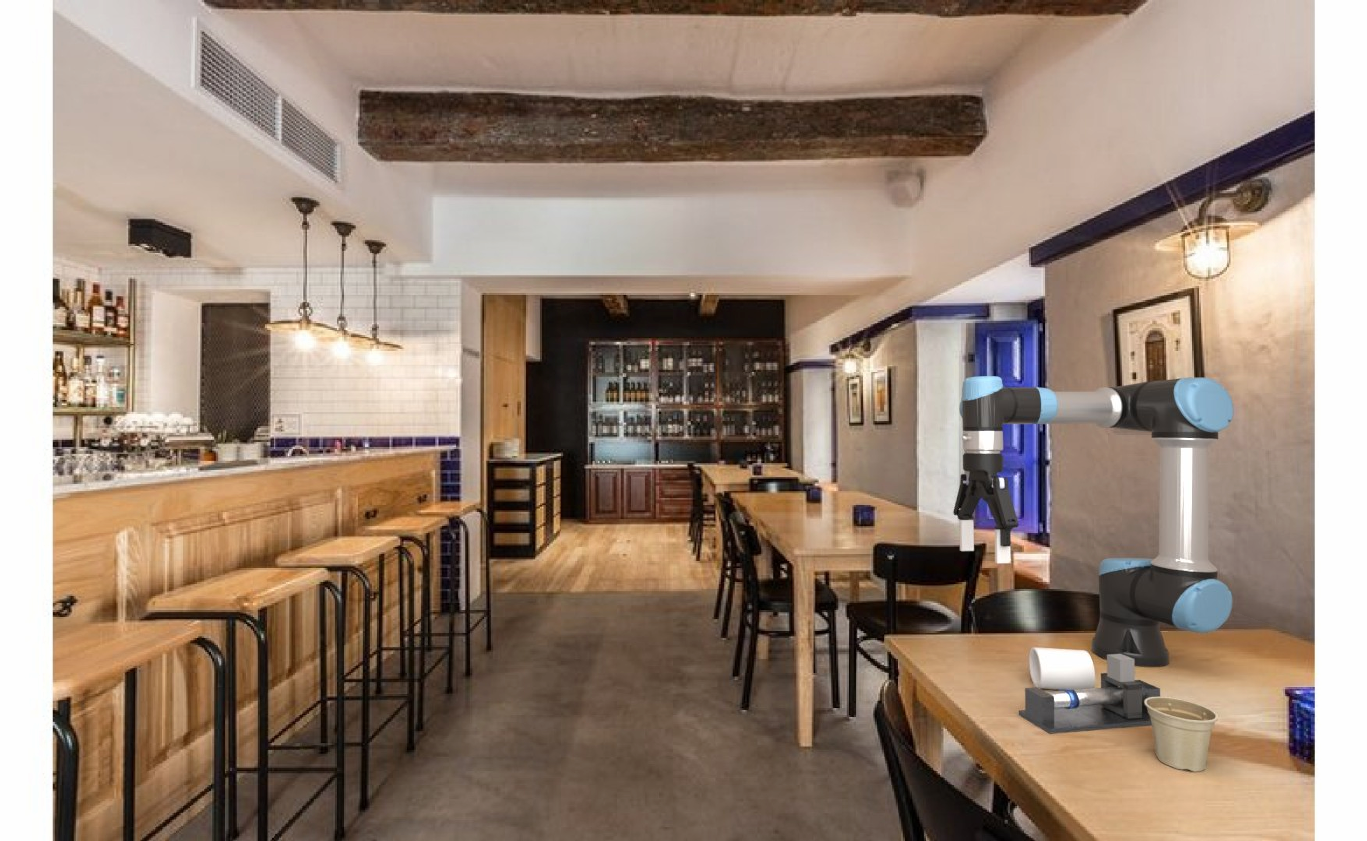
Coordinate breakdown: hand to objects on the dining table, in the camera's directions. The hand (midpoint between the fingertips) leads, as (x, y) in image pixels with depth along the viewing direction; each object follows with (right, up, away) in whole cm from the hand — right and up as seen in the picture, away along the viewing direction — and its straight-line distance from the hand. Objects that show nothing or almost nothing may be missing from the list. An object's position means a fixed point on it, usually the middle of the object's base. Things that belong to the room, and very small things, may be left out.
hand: (983, 556), depth 134 cm
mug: (+17, -28, +4) cm, 33 cm away
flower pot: (+18, -27, -29) cm, 44 cm away
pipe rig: (+14, -27, -13) cm, 33 cm away
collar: (+20, -27, -12) cm, 36 cm away
